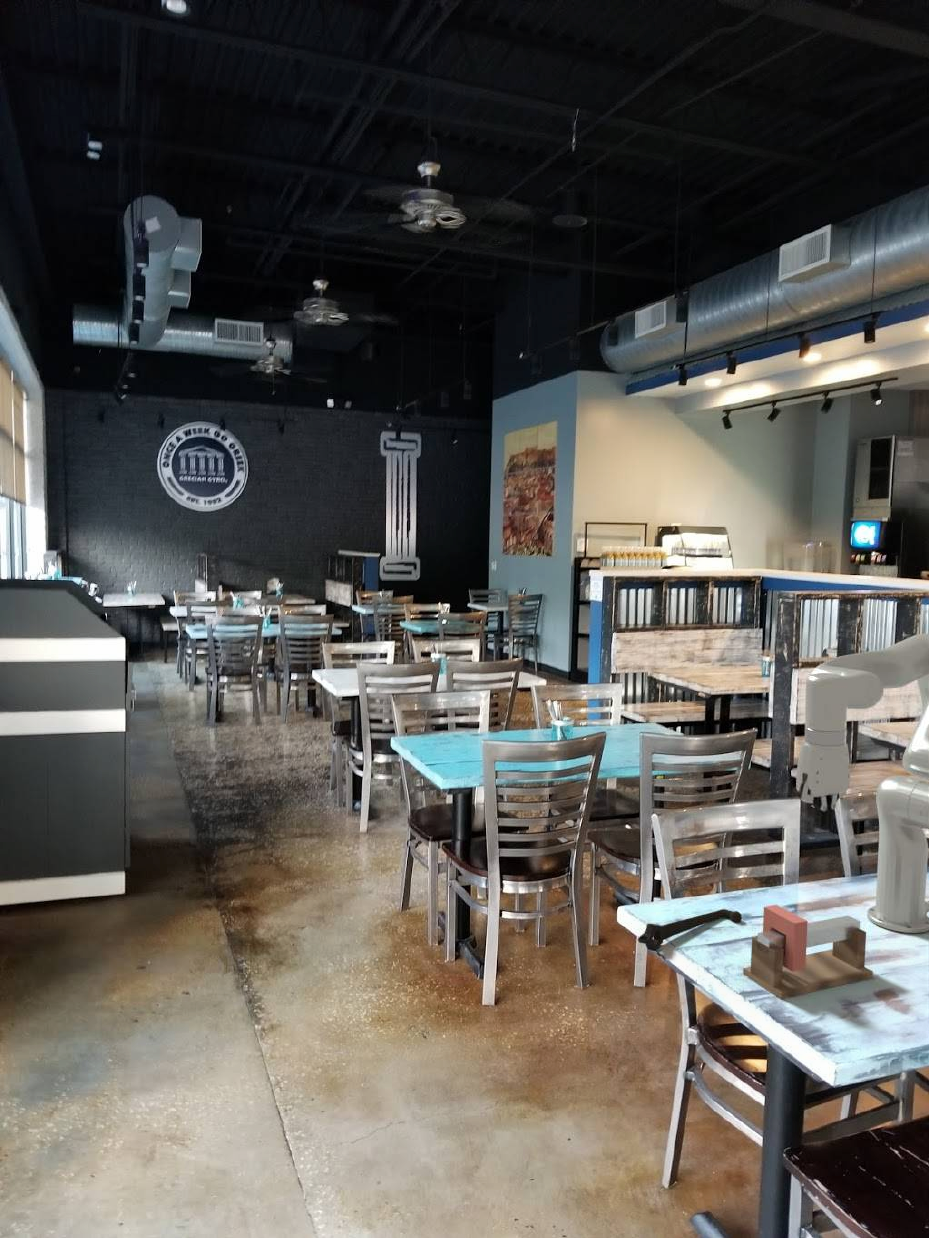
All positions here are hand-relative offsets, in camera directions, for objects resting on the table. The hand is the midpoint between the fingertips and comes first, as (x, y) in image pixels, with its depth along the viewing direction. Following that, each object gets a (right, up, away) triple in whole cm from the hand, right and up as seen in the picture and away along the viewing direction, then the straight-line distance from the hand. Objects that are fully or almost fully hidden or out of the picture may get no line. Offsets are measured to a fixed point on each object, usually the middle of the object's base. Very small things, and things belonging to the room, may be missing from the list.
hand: (823, 827), depth 179 cm
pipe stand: (-6, -26, -8) cm, 28 cm away
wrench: (-24, -25, +9) cm, 36 cm away
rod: (-6, -20, -9) cm, 22 cm away
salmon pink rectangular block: (-12, -22, -11) cm, 27 cm away
